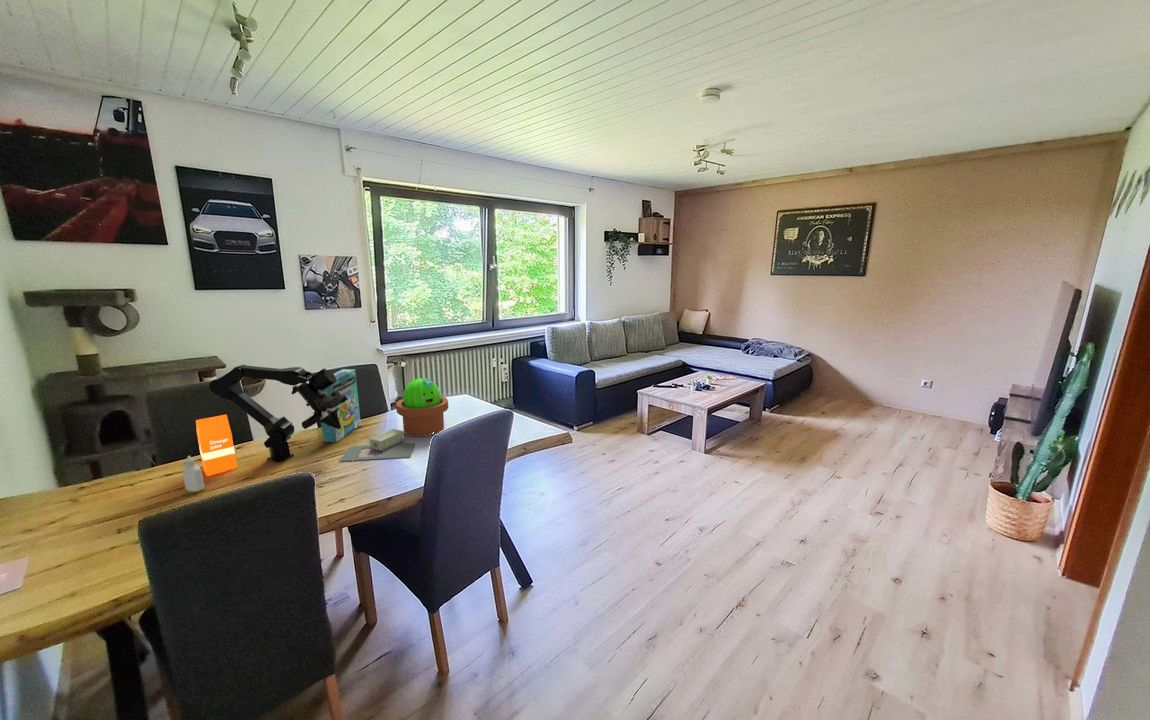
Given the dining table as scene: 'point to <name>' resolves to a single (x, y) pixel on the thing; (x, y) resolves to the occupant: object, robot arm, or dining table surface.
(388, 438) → the skincare box
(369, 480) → the dining table surface
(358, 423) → the game box
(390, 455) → the flat grey rectangular plate
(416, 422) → the potted cactus
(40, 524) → the dining table surface
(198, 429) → the orange juice
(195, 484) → the eye dropper bottle
